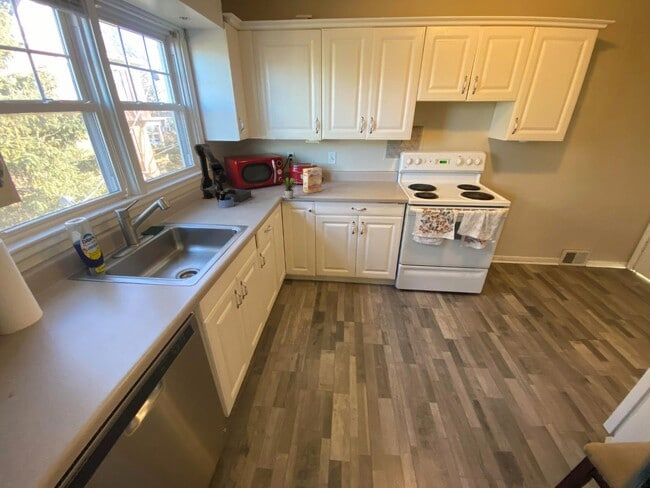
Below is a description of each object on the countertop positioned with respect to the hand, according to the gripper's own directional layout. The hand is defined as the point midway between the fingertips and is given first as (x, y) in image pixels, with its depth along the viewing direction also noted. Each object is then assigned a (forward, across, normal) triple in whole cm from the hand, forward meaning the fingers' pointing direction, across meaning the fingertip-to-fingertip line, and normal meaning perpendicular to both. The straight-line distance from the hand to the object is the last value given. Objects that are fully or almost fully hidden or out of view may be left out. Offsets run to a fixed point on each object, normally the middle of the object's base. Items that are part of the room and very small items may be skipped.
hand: (220, 202), depth 201 cm
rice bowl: (+2, +5, 0) cm, 5 cm away
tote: (+2, +1, +19) cm, 19 cm away
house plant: (+2, +39, +33) cm, 51 cm away
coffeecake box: (+2, +49, +59) cm, 77 cm away
